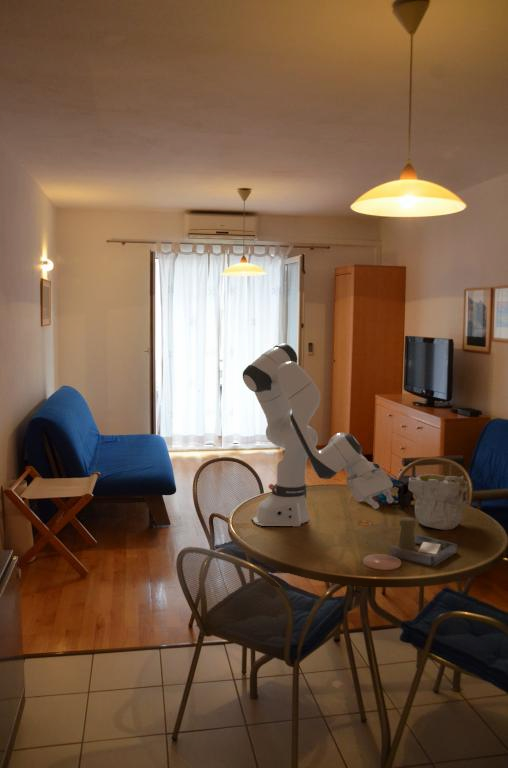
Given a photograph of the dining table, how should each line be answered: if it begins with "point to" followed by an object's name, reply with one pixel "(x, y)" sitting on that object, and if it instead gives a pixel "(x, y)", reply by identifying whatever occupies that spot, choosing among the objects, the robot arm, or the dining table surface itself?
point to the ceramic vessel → (439, 500)
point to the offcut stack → (429, 548)
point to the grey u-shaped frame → (446, 552)
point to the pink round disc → (382, 562)
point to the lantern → (403, 495)
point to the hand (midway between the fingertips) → (384, 504)
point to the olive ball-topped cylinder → (407, 534)
